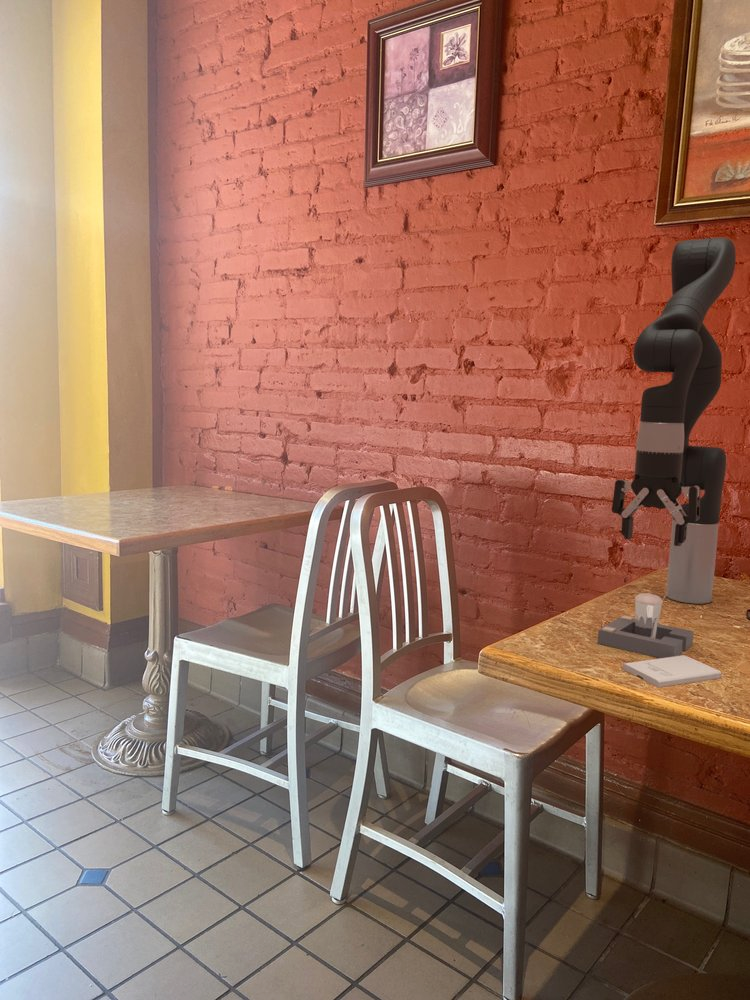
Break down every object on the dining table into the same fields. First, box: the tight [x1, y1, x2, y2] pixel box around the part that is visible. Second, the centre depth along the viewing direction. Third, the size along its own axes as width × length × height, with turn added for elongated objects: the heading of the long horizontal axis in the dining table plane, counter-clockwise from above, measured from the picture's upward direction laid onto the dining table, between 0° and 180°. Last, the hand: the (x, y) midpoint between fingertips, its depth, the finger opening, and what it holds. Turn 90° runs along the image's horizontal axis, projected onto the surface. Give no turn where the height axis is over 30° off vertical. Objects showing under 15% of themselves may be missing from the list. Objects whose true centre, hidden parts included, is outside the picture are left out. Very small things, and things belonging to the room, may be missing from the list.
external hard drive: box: [621, 654, 723, 688], centre depth 118 cm, size 2×8×12 cm
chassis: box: [597, 615, 695, 659], centre depth 132 cm, size 11×13×3 cm
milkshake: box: [634, 591, 668, 639], centre depth 131 cm, size 4×5×10 cm
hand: (652, 542), depth 130 cm, fingers open, 8 cm apart
